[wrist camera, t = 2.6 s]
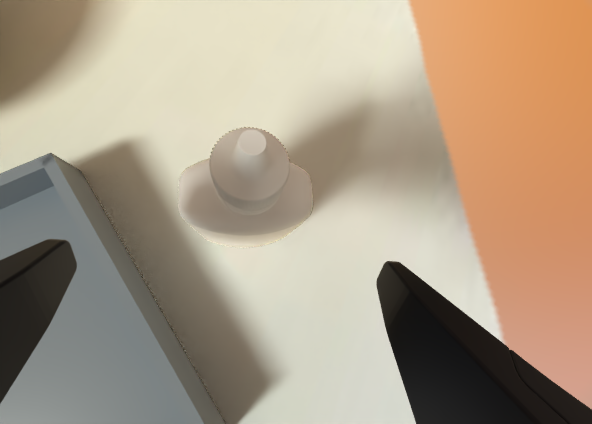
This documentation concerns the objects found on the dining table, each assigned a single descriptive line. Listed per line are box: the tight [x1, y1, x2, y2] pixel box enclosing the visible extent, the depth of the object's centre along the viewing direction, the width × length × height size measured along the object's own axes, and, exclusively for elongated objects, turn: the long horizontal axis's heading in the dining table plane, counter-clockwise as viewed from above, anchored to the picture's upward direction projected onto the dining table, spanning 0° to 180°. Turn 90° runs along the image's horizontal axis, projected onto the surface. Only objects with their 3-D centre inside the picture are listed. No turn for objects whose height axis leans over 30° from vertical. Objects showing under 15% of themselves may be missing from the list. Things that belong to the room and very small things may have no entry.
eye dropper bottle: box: [178, 127, 313, 248], centre depth 13 cm, size 4×6×12 cm
